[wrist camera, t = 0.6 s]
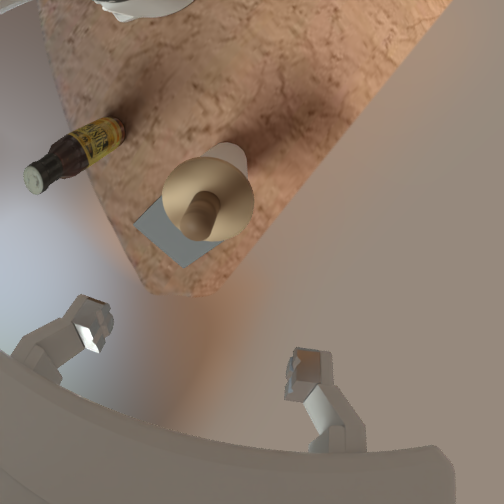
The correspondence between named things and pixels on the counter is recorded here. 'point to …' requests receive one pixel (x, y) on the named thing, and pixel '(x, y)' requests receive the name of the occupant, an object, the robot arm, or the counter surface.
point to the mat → (171, 236)
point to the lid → (208, 199)
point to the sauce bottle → (75, 153)
